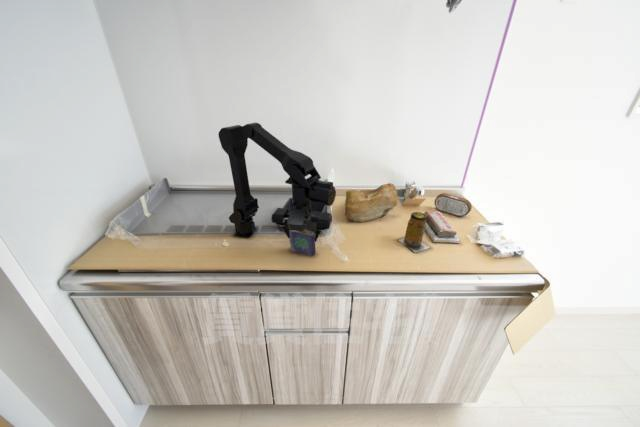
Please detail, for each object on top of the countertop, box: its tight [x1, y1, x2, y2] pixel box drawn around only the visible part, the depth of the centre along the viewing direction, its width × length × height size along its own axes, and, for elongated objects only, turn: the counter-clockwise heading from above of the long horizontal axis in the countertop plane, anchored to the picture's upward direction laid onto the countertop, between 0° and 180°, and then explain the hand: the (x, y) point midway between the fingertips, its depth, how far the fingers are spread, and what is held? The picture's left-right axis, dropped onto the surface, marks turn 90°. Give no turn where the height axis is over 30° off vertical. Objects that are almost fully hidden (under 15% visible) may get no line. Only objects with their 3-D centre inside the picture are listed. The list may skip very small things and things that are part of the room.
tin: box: [434, 192, 473, 218], centre depth 109 cm, size 15×3×8 cm, turn 49°
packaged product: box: [423, 210, 461, 244], centre depth 96 cm, size 18×5×10 cm
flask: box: [289, 229, 316, 257], centre depth 81 cm, size 9×3×11 cm, turn 71°
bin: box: [276, 197, 329, 234], centre depth 101 cm, size 18×18×6 cm
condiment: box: [398, 211, 430, 253], centre depth 86 cm, size 7×8×12 cm
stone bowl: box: [344, 182, 399, 223], centre depth 106 cm, size 23×17×15 cm
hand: (302, 239), depth 82 cm, fingers closed on flask, 9 cm apart
